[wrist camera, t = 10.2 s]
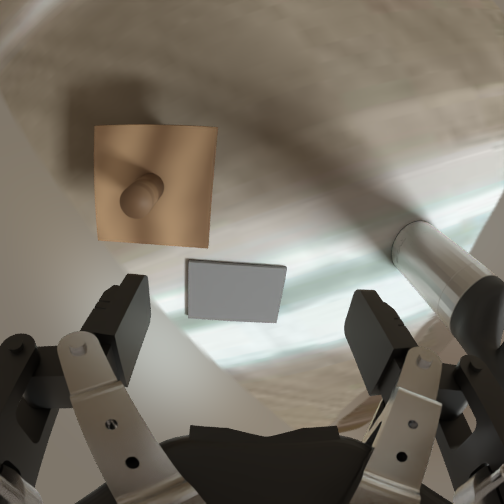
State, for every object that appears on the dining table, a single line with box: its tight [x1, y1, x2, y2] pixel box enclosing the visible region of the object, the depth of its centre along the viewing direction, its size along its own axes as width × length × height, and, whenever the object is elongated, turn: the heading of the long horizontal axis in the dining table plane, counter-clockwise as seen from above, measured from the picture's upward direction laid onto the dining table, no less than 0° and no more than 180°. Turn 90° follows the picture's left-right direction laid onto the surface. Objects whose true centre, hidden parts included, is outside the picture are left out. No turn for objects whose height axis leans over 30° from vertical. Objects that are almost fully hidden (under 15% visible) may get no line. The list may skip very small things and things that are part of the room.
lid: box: [94, 124, 218, 248], centre depth 26 cm, size 12×12×6 cm
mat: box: [188, 260, 287, 323], centre depth 46 cm, size 14×10×1 cm
